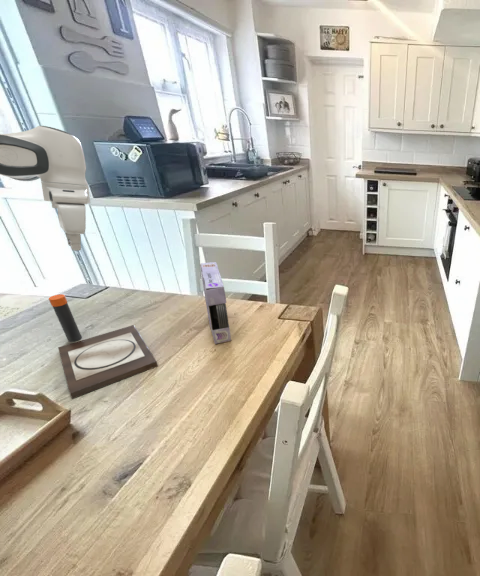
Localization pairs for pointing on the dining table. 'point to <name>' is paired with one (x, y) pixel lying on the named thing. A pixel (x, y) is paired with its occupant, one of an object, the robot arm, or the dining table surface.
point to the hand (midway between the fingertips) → (74, 248)
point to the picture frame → (104, 360)
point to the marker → (65, 317)
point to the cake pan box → (215, 302)
